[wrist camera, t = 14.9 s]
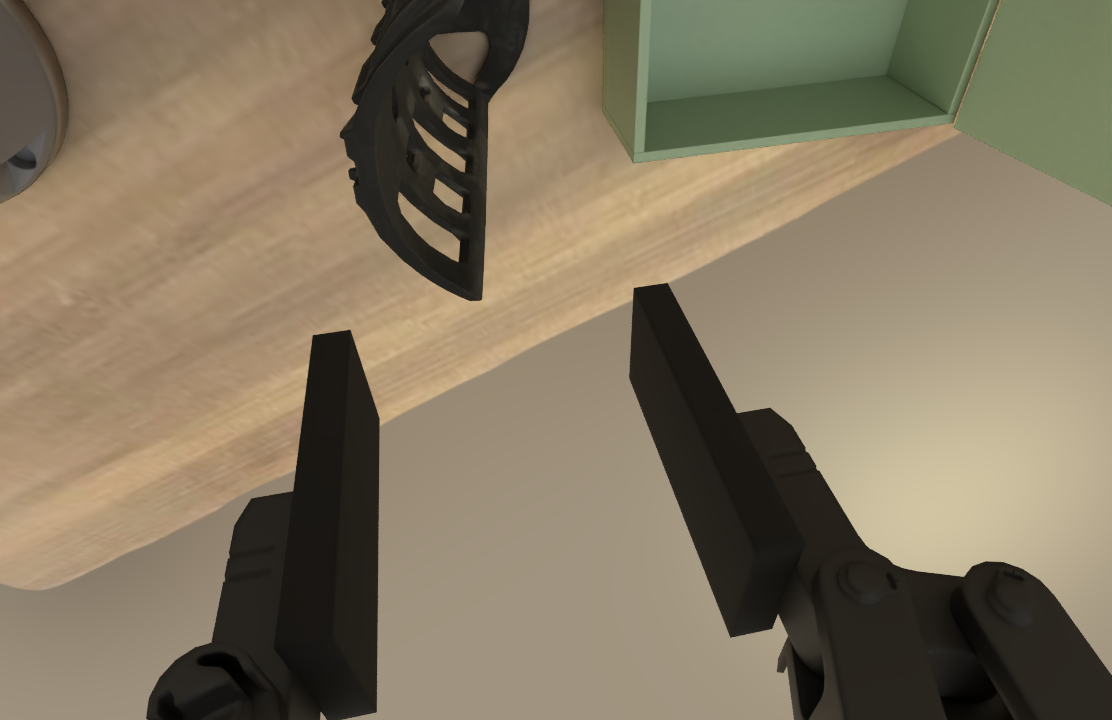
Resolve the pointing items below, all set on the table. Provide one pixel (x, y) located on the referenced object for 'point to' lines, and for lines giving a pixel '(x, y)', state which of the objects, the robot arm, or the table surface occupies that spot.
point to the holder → (429, 129)
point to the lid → (1048, 90)
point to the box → (782, 70)
